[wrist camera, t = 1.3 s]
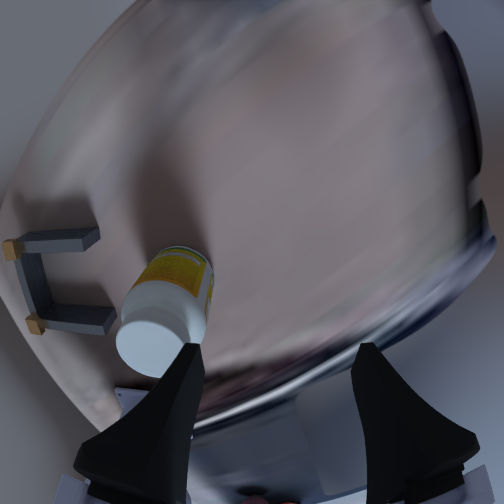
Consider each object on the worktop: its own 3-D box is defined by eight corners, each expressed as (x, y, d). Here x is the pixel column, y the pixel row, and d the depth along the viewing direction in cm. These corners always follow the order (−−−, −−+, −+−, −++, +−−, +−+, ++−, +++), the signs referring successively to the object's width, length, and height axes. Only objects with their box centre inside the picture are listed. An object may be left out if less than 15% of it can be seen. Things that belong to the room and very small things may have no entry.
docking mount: (117, 319, 24) (103, 344, 20) (48, 313, 23) (30, 333, 20) (98, 223, 20) (75, 238, 17) (26, 229, 20) (1, 242, 16)
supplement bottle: (225, 290, 23) (220, 374, 14) (169, 311, 23) (141, 394, 14) (195, 232, 21) (166, 294, 12) (138, 258, 22) (86, 326, 13)
